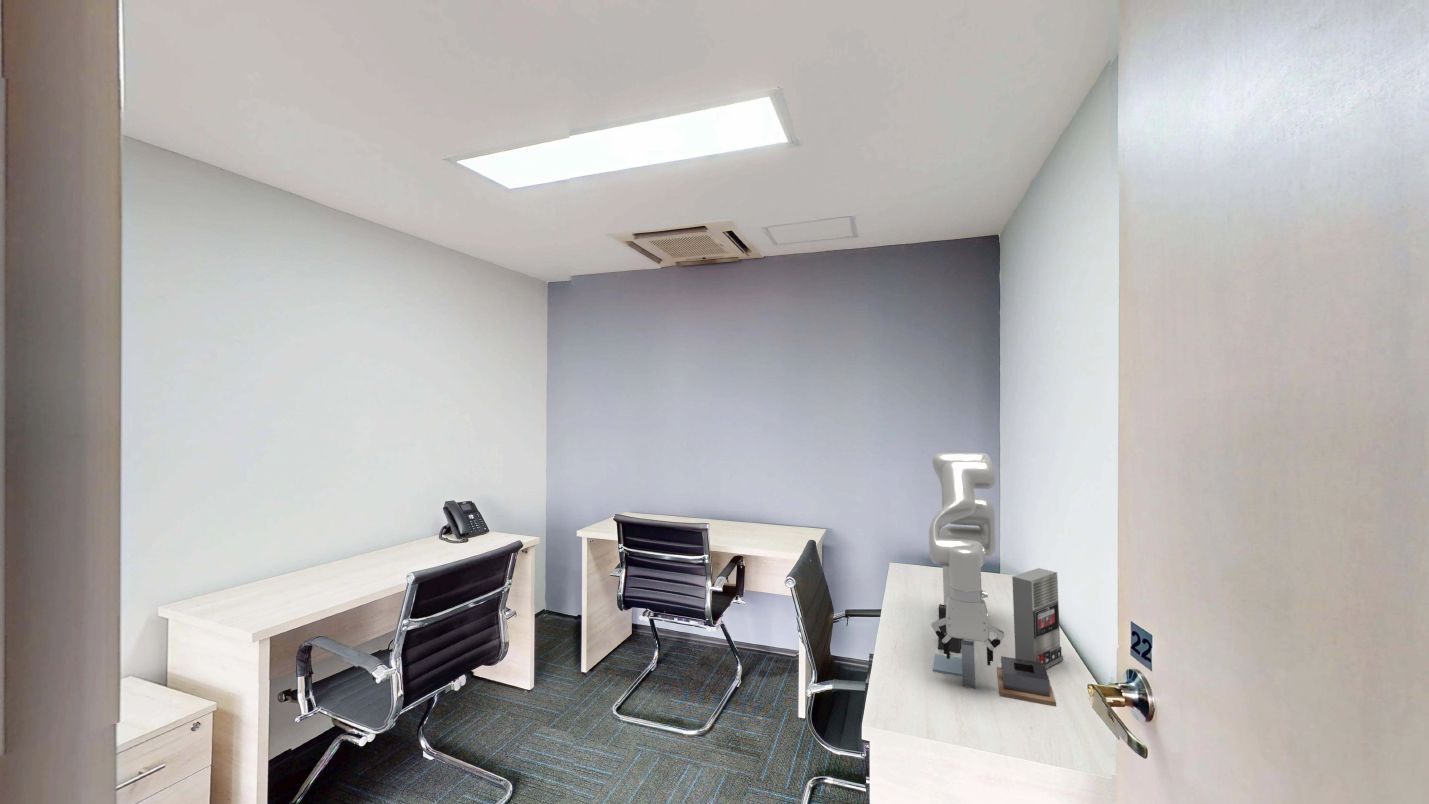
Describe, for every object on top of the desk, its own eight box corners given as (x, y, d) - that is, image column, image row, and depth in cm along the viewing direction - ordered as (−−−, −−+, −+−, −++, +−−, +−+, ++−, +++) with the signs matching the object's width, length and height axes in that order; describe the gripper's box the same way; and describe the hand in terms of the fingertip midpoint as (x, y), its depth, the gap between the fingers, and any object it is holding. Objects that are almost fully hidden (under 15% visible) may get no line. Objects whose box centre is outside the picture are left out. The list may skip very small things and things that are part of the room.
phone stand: (959, 653, 157) (958, 612, 157) (937, 649, 160) (936, 609, 160) (963, 642, 164) (962, 603, 164) (943, 638, 167) (941, 599, 168)
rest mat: (935, 655, 156) (935, 653, 156) (972, 661, 151) (972, 659, 151) (933, 671, 147) (933, 669, 147) (973, 678, 142) (973, 676, 142)
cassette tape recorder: (1037, 674, 143) (1033, 582, 144) (1015, 665, 148) (1011, 576, 149) (1064, 661, 150) (1060, 573, 151) (1041, 653, 156) (1038, 567, 156)
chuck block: (1001, 670, 144) (1001, 656, 144) (1044, 678, 140) (1044, 662, 140) (1003, 688, 135) (1003, 673, 135) (1049, 697, 130) (1049, 680, 131)
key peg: (962, 680, 141) (961, 639, 141) (975, 683, 140) (973, 641, 140) (962, 686, 138) (961, 644, 139) (975, 688, 137) (973, 646, 137)
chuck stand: (997, 670, 146) (997, 666, 146) (1048, 679, 141) (1048, 675, 141) (999, 695, 133) (999, 691, 133) (1055, 706, 128) (1055, 701, 128)
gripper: (1002, 594, 139) (1004, 660, 139) (931, 586, 147) (933, 648, 146) (1003, 603, 132) (1006, 672, 132) (929, 594, 140) (931, 660, 139)
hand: (968, 660), depth 139 cm, fingers open, 9 cm apart
